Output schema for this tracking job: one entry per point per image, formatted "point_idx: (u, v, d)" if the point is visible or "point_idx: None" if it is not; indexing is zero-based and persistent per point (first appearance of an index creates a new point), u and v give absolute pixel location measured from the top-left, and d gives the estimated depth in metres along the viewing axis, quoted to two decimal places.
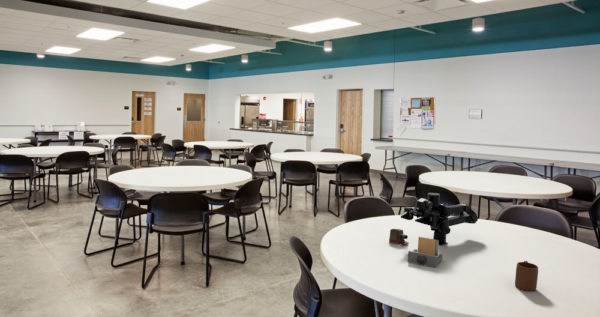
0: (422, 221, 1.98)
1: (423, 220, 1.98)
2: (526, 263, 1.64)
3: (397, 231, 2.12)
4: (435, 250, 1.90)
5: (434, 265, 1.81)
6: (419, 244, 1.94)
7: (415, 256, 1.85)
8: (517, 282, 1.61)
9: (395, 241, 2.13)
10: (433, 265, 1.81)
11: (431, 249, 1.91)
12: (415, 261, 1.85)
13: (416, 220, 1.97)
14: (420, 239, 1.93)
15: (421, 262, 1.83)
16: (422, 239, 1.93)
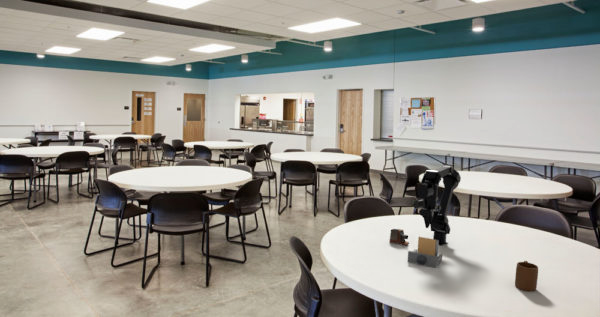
0: (428, 221, 1.99)
1: (427, 219, 1.99)
2: (526, 263, 1.64)
3: (398, 231, 2.12)
4: (435, 250, 1.90)
5: (434, 265, 1.81)
6: (419, 244, 1.94)
7: (415, 256, 1.85)
8: (517, 282, 1.61)
9: (395, 241, 2.12)
10: (433, 265, 1.81)
11: (431, 249, 1.91)
12: (415, 261, 1.85)
13: (426, 227, 2.00)
14: (420, 239, 1.93)
15: (421, 262, 1.83)
16: (422, 239, 1.93)
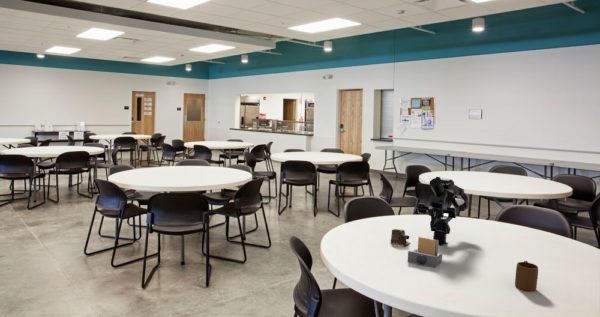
0: (437, 219, 2.03)
1: (437, 218, 2.04)
2: (526, 263, 1.64)
3: (399, 231, 2.11)
4: (435, 250, 1.90)
5: (434, 265, 1.81)
6: (419, 244, 1.94)
7: (415, 256, 1.85)
8: (517, 282, 1.61)
9: (397, 241, 2.12)
10: (433, 265, 1.81)
11: (431, 249, 1.91)
12: (415, 261, 1.85)
13: (433, 223, 2.02)
14: (420, 239, 1.93)
15: (421, 262, 1.83)
16: (422, 239, 1.93)
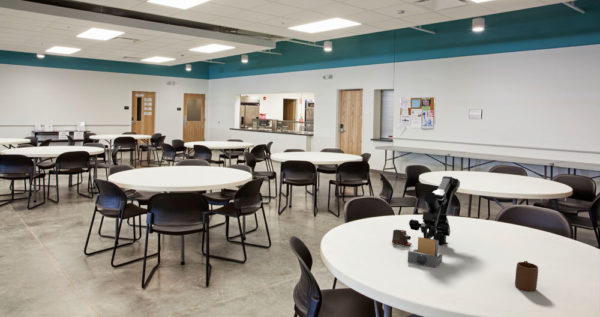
0: (430, 237, 1.95)
1: (430, 235, 1.95)
2: (526, 263, 1.64)
3: (400, 232, 2.11)
4: (435, 250, 1.90)
5: (434, 265, 1.81)
6: (419, 244, 1.93)
7: (415, 256, 1.85)
8: (517, 282, 1.61)
9: (398, 242, 2.11)
10: (433, 265, 1.81)
11: (431, 249, 1.91)
12: (415, 261, 1.85)
13: None
14: (420, 239, 1.93)
15: (421, 262, 1.83)
16: (422, 239, 1.92)
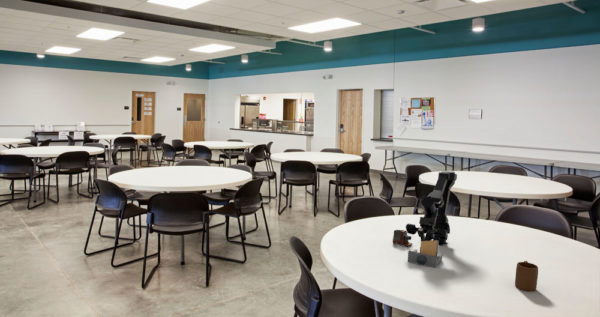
0: None
1: (427, 240, 1.90)
2: (526, 263, 1.64)
3: (401, 232, 2.10)
4: (436, 250, 1.89)
5: (434, 265, 1.81)
6: (423, 249, 1.87)
7: (415, 256, 1.85)
8: (517, 282, 1.61)
9: (399, 242, 2.11)
10: (433, 265, 1.81)
11: (433, 250, 1.89)
12: (415, 261, 1.85)
13: None
14: (423, 243, 1.87)
15: (421, 262, 1.83)
16: (425, 243, 1.87)
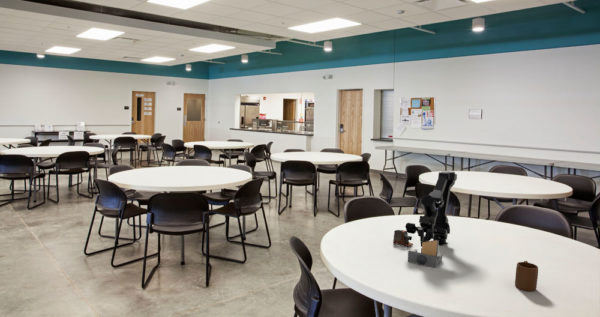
0: None
1: (427, 239, 1.90)
2: (526, 263, 1.64)
3: (401, 232, 2.10)
4: (436, 250, 1.89)
5: (434, 265, 1.81)
6: (424, 249, 1.86)
7: (415, 256, 1.85)
8: (517, 282, 1.61)
9: (399, 242, 2.11)
10: (433, 265, 1.81)
11: (433, 251, 1.89)
12: (415, 261, 1.85)
13: None
14: (425, 244, 1.86)
15: (421, 262, 1.83)
16: (427, 243, 1.86)
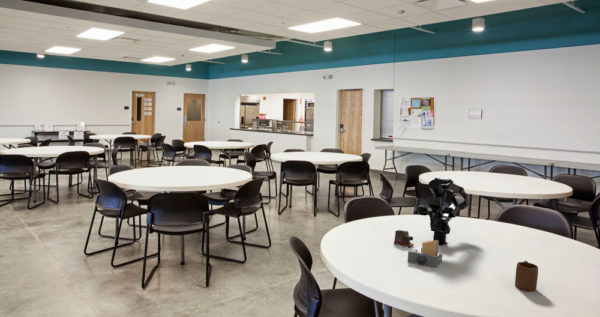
0: (436, 220, 2.04)
1: (437, 219, 2.04)
2: (526, 263, 1.64)
3: (402, 232, 2.10)
4: (436, 250, 1.89)
5: (434, 265, 1.81)
6: (424, 249, 1.86)
7: (415, 256, 1.85)
8: (517, 282, 1.61)
9: (400, 243, 2.10)
10: (433, 265, 1.81)
11: (433, 251, 1.89)
12: (415, 261, 1.85)
13: (433, 225, 2.02)
14: (425, 244, 1.86)
15: (421, 262, 1.83)
16: (427, 243, 1.86)
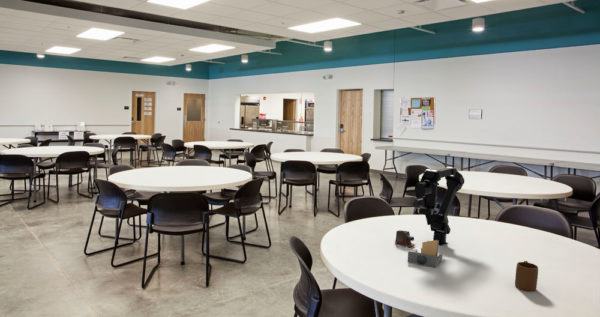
0: (430, 218, 2.04)
1: (429, 217, 2.05)
2: (526, 263, 1.64)
3: (403, 233, 2.09)
4: (436, 250, 1.89)
5: (434, 265, 1.81)
6: (424, 249, 1.86)
7: (415, 256, 1.85)
8: (517, 282, 1.61)
9: (401, 243, 2.10)
10: (433, 265, 1.81)
11: (433, 251, 1.89)
12: (415, 261, 1.85)
13: (428, 224, 2.06)
14: (425, 244, 1.86)
15: (421, 262, 1.83)
16: (427, 243, 1.86)
